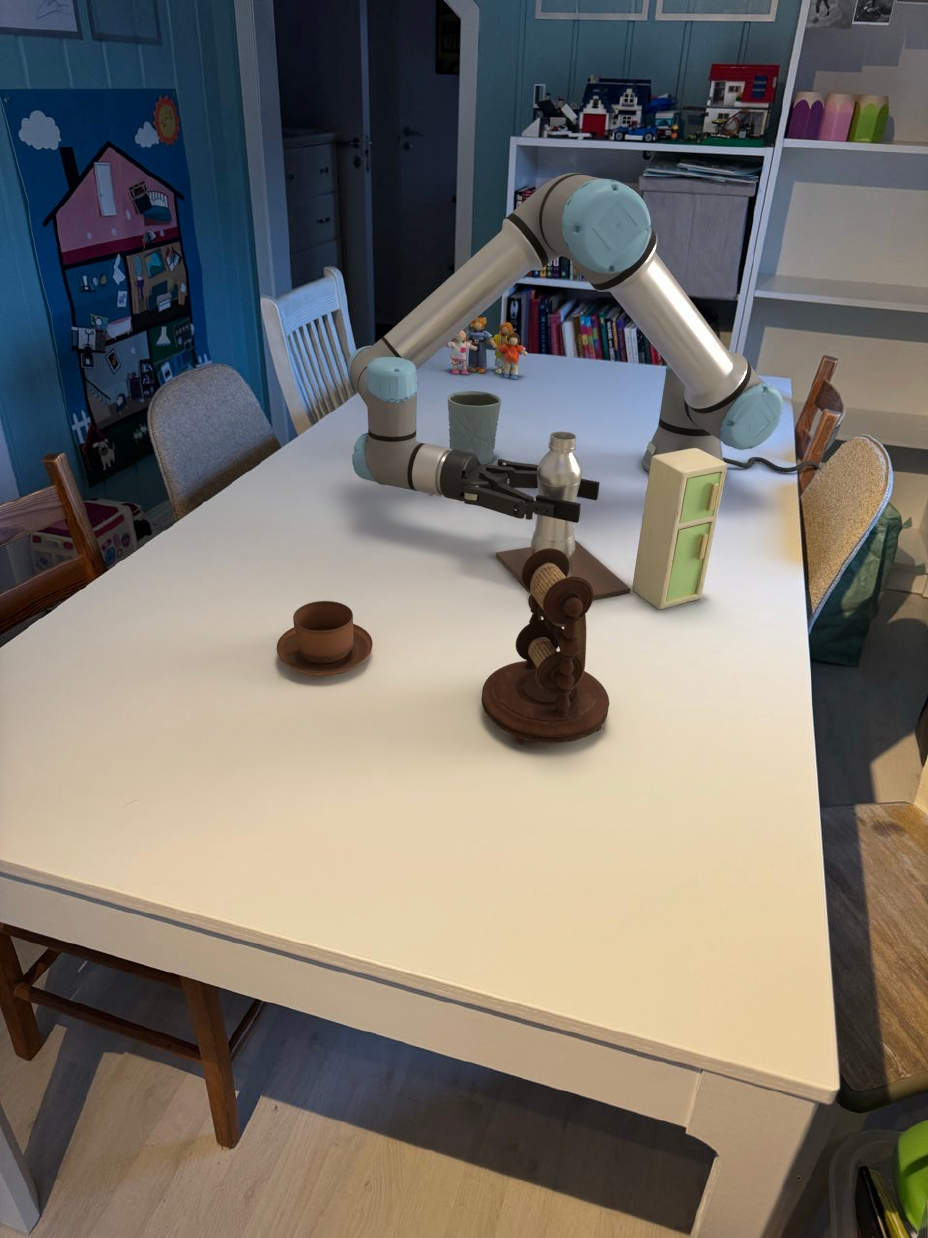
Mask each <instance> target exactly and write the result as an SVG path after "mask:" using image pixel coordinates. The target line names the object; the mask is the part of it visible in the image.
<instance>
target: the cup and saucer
mask: <svg viewBox="0 0 928 1238" xmlns="http://www.w3.org/2000/svg"><path fill="white" fill-rule="evenodd" d="M292 621H293V622H292V623H293V627H291V628H290V629H288V630H286V631H285V632H284V633H283V634H282V635H280V637H279V638H278V641H277V643H276V649H275V650H276V653H277V656H278V658H279V660H280V661H281V662H282V663H283V664H284V665H285V666H286V667H288V668H290V669H291V670H293V671H295V672H298V673H302V674H304V675H311V676H333V675H338V674H342V673H345V672H349V671H351V670H353V669H355V668H357V667H358V666H359V665H361V664H363V663H364V662H365V661H366V660H367V659H368V658H369V657H370V654H371V652H372V650H373V643H374V642H373V639H372V636H371V634H370V633H369V632H368V631H367V630H366V629H365V628H363V627H362V626H360V625H357V624H356V623H354V612H353V610H352V609H351V608H350V606H348V605H346V604H344V603H342V602H338V601H332V600H317V601H313V602H308V603H306V604H303V605H301V606H300V607H298V608H297V609H296V610H295V611H294V612H293V615H292Z"/></svg>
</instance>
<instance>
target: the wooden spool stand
mask: <svg viewBox="0 0 928 1238" xmlns="http://www.w3.org/2000/svg"><path fill="white" fill-rule="evenodd" d="M569 568H570V565H569V560H568V558H567V556H566V555H565V554H564V553H563V552H562V551H560V550H558V549H554V548H546V549H542V550H539V551H537V552H535V553H534V554H533V555H531V556H530V557H529V558H528V559H527V561H526V562H525V564H524V566H523V569H522V573H521V577H522V582H523V584H524V586H525V587H526V588H527V589H528V590H529V591H531V594H530V593H529V595H528V598H527V602H528V603H527V605H528V607H529V609H530V613H532V614H531V615H530V616H531V617H530V618H529V620H528V624H526V625H525V626H523V628H522V629H521V630H520V631H519V633H518V635H517V636H516V639H515V650H516V653H517V654H518V656H519V657H520V658H521V659H523V660H521V661H517V662H513V663H509V664H506V665H504V666H501V667H500V668H498V669H497V670H494V671H493V672H492V673H491V674H490V675H489V676H488V677H487V678H486V679H485V681H484V683H483V686H482V690H481V706H482V709H483V712H484V714H485V716H487V717H486V718H488V719H489V720H490V721H491V722H492V724H494V725H495V726H496V727H497V728H499V729H500V730H502V731H503V732H505V733H507V734H510V735H511V736H514V739H515V742H516V744H517V745H519V746H520V745H522V744H523V743H524V741H525V740H526V741H529V742H536V743H544V744H545V743H546V744H560V743H569V742H575V741H578V740H581V739H583V738H586V737H589V736H591V735H592V734H594V733H595V732H596V733H597V732H600V730H601V729H602V727H603V725H604V723H605V722H606V720H607V717H608V714H609V709H610V708H609V707H610V698H609V693H608V692H607V690H606V688H605V687H604V685H603V684H602V683H601V682H600V681H599V680H598V679H597V678H596V677H594V676H593V675H592V674H591V673H589V672H587V671H585V670H586V657H587V615H586V614H587V613H588V611H589V610H590V609H591V607H592V605H593V601H594V600H593V597H594V593H593V589H592V586H591V585H590V583H589V582H588V581H586V580H585V579H583V578H581V577H576V576H572V577H567V576H568V573H569ZM524 586H523V587H524ZM525 587H524V588H525ZM526 588H525V589H526ZM558 649H559V650H558Z"/></svg>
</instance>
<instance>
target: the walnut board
mask: <svg viewBox="0 0 928 1238" xmlns="http://www.w3.org/2000/svg"><path fill="white" fill-rule="evenodd" d="M531 555H533V554H532V549H531V546H527V547H522V548H516V549H509V550H503V551H502V550H501V551H497V552H495V558H496V559H497V560H498V562H500V563H501V564H502V565H503V566H504V567H505V568H506V569H507V570H508V572H509V573H510V574H511V575H512V576H513V577H514V578H515V579H516V580H517V581H518V582H519V583H520V584H521V585H522V587H523V588H524V589H525V590H526V591H527V592H528V593H529V595H530V594H531V591H529V590H528V589H527V588H526V587H525V586H524V584H523V582H522V577H521V573H522V569H523V566H524V564H525V562H526V561H527V559H528V558H529V557H530V556H531ZM569 565H570V568H569V573H568V576H567V577H572V576H576V577H581V578H583V579H585V580H586V581H588V582H589V583H590V585H591V586H592V589H593V593H594V597H593V601H595V600H602V599H606V598H611V597H616V596H623V595H626V594H630V593H631V587H630V586H628V585H627V584H626V583H625V582H623V580H622V579H620V578H619V577H618V576H617V575H616V573H613V572H612V571H611V570H610V569H609V568H608V567H607V566H606V565H604V564H603V563H602V562H601V561H600V560H599V559H597V557H595V556H594V555H593V554H592V552H591V553H590V551H589V550H587V549H586V548H585V547H584V546H583V545H581V543H579V542H578V541H577V540H576V539H575V551H574V554H573V557H572V559H571V560H570V561H569Z"/></svg>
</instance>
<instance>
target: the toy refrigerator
mask: <svg viewBox="0 0 928 1238" xmlns="http://www.w3.org/2000/svg"><path fill="white" fill-rule="evenodd" d="M727 471H728V463H725V462H724V461H722V460H720V459H718V458H716V457H714V456H712V455H710V454H708V453H706V452H704V451H702V450H700V449H697V448H691V449H685V450H680V451H675V452H670V453H664V454H659V455H654V456H653V457H652V459H651V464H650V470H649V472H648V478H647V485H646V492H645V499H644V506H643V512H642V519H641V526H640V533H639V540H638V546H637V552H636V559H635V565H634V573H633V579H632V580H633V581H632V586H631V587H632V588H631V589H632V591H634V593H636V594H637V595H639V597H641V598H643V600H645V601H646V602H648V603H649V604H651V605H652V606H653V607H654V608H656V609H657V610H664V609H666V608H671V607H675V606H679V605H681V604H685V603H689V602H692V601H696V600H700V599H701V598H702V596H703V591H704V586H705V581H706V575H707V570H708V566H709V565H708V564H709V560H710V555H711V550H712V545H713V540H714V534H715V531H716V526H717V521H718V520H717V519H718V515H719V510H720V506H721V500H722V496H723V491H724V485H725V480H726V476H727Z"/></svg>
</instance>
